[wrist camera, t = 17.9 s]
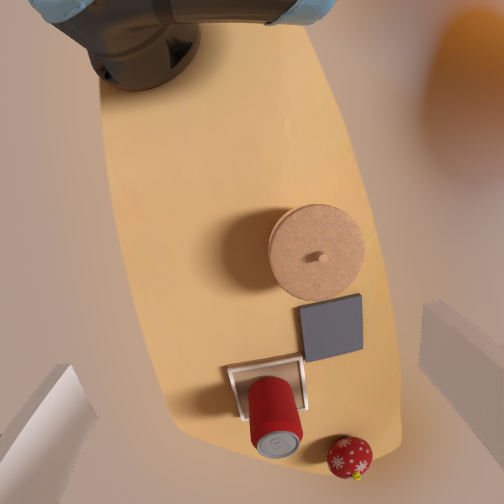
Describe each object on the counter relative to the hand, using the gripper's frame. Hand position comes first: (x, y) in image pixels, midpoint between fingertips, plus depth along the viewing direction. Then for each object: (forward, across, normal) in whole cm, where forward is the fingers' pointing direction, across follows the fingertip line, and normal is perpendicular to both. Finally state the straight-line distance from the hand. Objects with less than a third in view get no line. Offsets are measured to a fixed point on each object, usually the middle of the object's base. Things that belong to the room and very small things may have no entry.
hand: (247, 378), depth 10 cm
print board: (+31, 0, -25) cm, 40 cm away
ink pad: (+31, +10, -16) cm, 36 cm away
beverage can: (+30, 0, -25) cm, 39 cm away
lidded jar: (+31, +8, -3) cm, 32 cm away
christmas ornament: (+31, +12, -44) cm, 55 cm away
